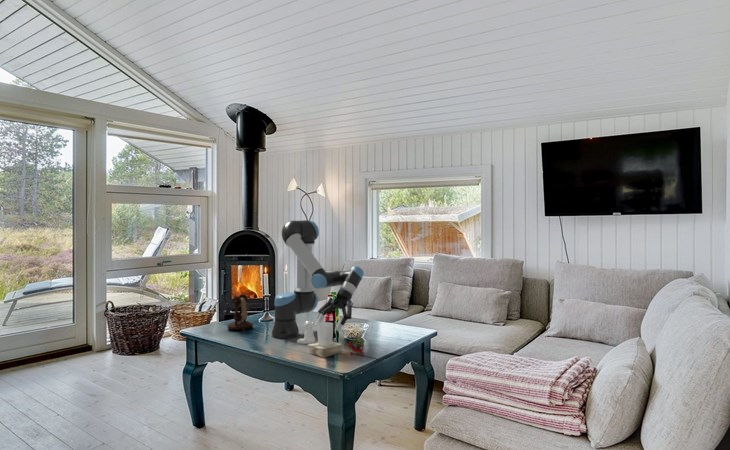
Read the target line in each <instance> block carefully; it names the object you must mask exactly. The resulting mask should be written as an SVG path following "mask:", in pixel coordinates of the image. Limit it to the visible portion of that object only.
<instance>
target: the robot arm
mask: <svg viewBox="0 0 730 450" xmlns="http://www.w3.org/2000/svg"><path fill="white" fill-rule="evenodd" d="M319 234H320V229H319V227H318V225H317V223H315V222H314V221H313V220H308V219H307V220H289V221H287V222H286V223H284V225H283V226H282V229H281V237H282V238H281V239H282V240H283V242H284V245H286V246H287V247H289V248H291V250H292V252H293V254H295V256H296V287H295V288H294V289H293V291H288V292H287V291H286V292H281V293H279V294H277V295H275V298H274V303H273V304H274V324H273V326H272V331H271V337H272V338H276V339H289V338H290V339H291V338H295V337H297V336H299V335H300V329H299V327H298V325H297V318H296V317H297V315H300V314H304V313H310V312H313V311H314V310H315V309H316V308H317V307H318V303H319V297H318V296H317V293H316V292H315V289H316V290H317V289H326V288H331V287H337V286H340V287H339V290H338V291H337V293H336V296H335V298H334V299H333V297H329V300H328V301H326V302H325V303H324V305H323V306H321V307H320V308H319V309H318V310H317V313H318V316H317V320H316V321H315V322H314V325H315V326H316V327H317V324H318V323H322V322H324V321H323V320H324V319H325V315H327V314H329V313H330V312H331V311H333V310H336V309H339V310H341V312H342V316H341V318H340V319H339V322H338V323H337V326H336V327H335V329H336V330H337V332H341V329H342V327H343V326H344V325H346V324H345V323H346V322H347V321H348V320H351V319H352V315H353V314H352V311H353V305H354V303H353V301H351V300H352V298H353V296H354V294H355V292H356V290H357V289H358V287H359V285H360V283H361V281H362V279H363V276H364V274H365V271H364V269H362V268H361V267H359V266H357V265H354V266H351V268H350V269H349V270H342V271H341V270H335V271H332V272H326V271H327V270H325V269H324V268H323V266H322V265H321V263H320V262H319V260H317V257H315V256H314V254H313V246H314V245H315V242H316V240H317V239H318V238H319ZM346 307H347V308H346Z"/></svg>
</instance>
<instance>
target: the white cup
mask: <svg viewBox="0 0 730 450" xmlns="http://www.w3.org/2000/svg"><path fill="white" fill-rule="evenodd" d="M316 333H317V342H318V345H320V346H330V345H332V342H333V338H334V335H333V334H334V323H333V322H330V321H325V322H324V321H322V322H321V323H318V324H317V326H316Z"/></svg>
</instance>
